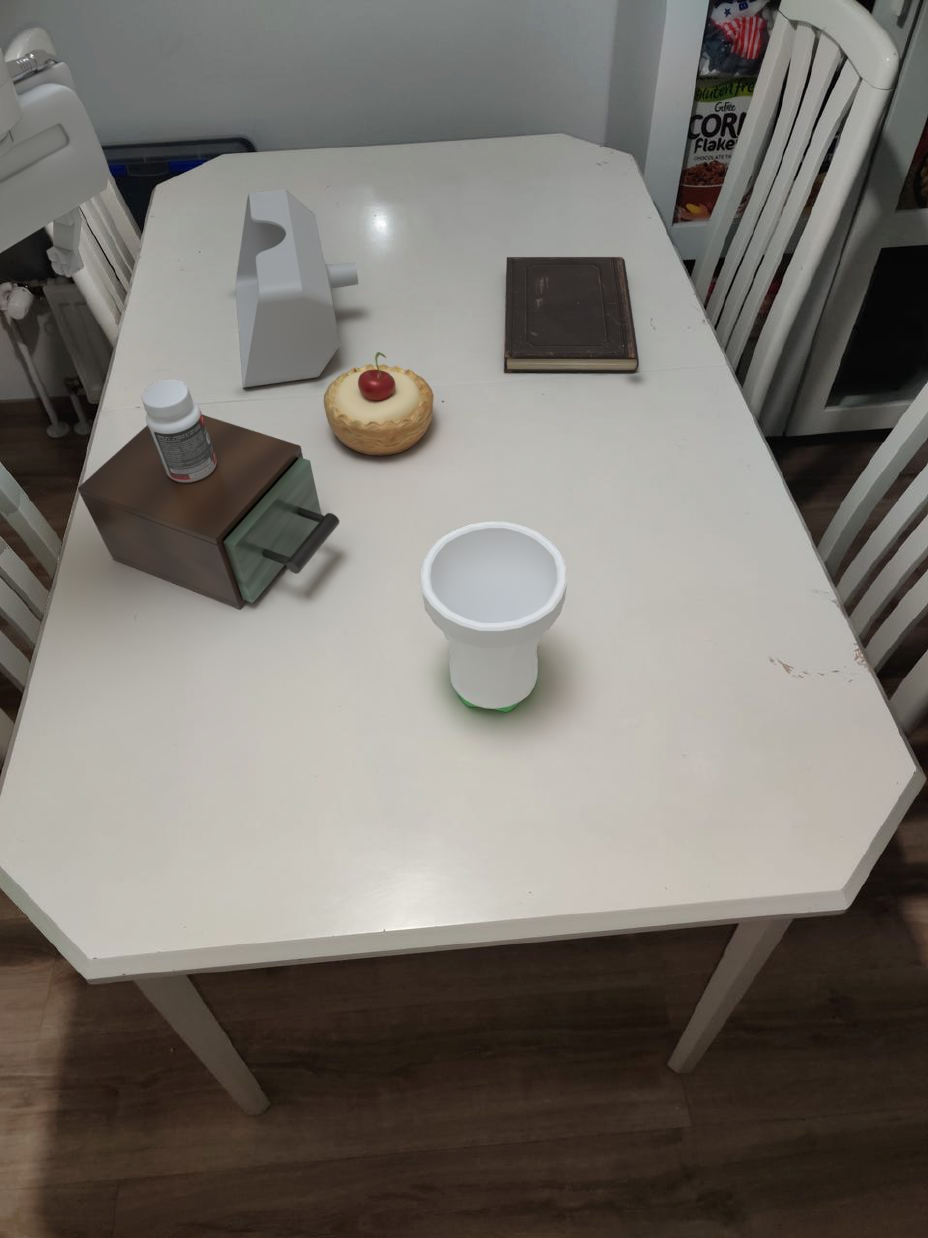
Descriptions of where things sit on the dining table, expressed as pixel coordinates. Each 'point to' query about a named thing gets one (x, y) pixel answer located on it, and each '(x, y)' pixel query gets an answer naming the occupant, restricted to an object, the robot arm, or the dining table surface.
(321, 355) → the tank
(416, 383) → the pastry
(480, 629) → the cup
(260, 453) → the cabinet
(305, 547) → the drawer
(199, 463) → the pill bottle
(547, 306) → the hardcover book
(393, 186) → the dining table surface
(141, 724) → the dining table surface
